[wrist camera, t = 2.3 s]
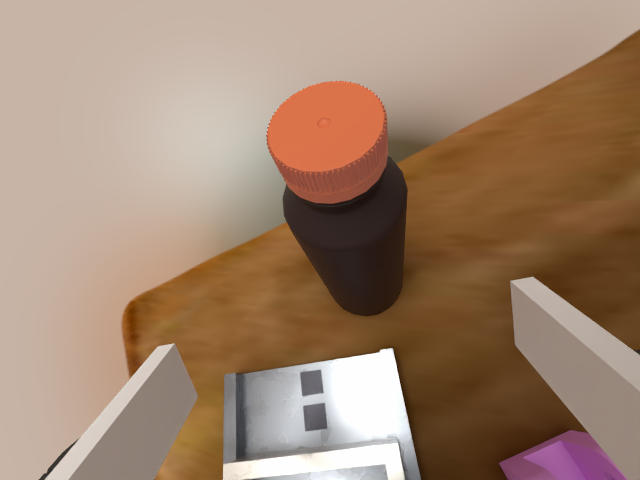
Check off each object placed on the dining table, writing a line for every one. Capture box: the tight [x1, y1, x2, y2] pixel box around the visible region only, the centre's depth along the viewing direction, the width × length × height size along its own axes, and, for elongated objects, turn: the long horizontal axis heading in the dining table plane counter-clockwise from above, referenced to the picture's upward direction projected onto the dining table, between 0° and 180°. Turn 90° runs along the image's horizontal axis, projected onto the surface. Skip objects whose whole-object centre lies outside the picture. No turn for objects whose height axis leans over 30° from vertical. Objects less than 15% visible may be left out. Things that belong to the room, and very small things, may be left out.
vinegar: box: [266, 81, 408, 316], centre depth 22 cm, size 7×7×20 cm
